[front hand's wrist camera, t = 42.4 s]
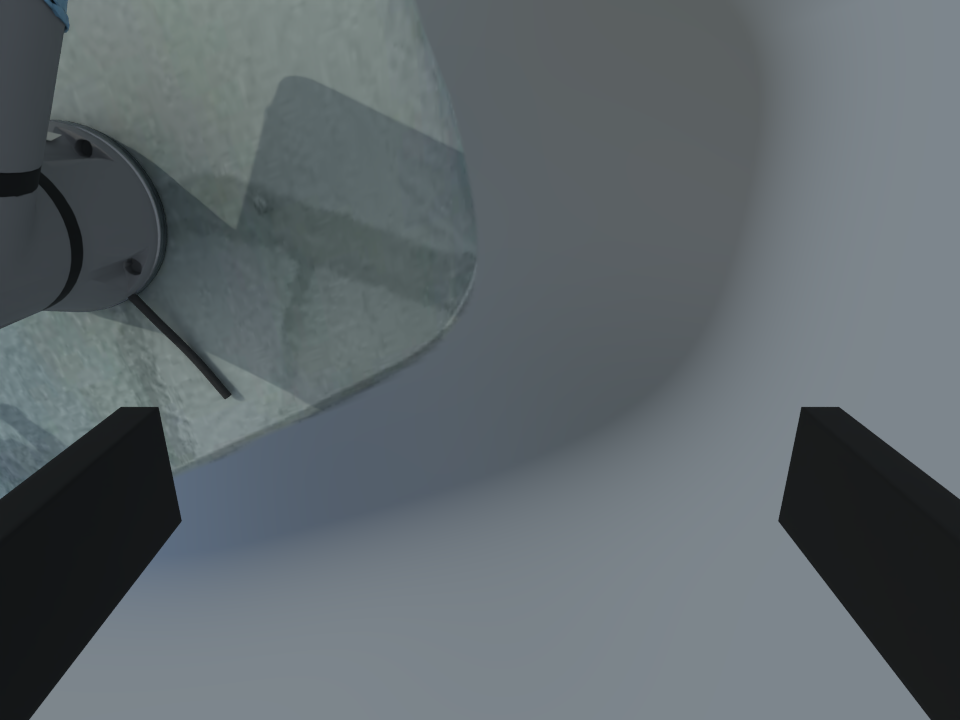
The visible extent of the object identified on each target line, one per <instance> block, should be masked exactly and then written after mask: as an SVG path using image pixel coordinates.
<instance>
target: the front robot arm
mask: <svg viewBox="0 0 960 720" xmlns="http://www.w3.org/2000/svg"><path fill="white" fill-rule="evenodd" d="M67 3H68V0H0V329H1V328H3V327H5V326H8V325H10V324H12V323H15V322H17V321H19V320H21V319H24V318H26V317H28V316H31V315H33V314H35V313H37V312H40V311H64V312H88V311H95V310H101V309H106V308H109V307H112V306H115V305H117V304H120V303H122V302H124V301H126V300H128V299H129V300H130V301H131V302H132V303H133V304H134V305H135V306H136V307H137V308H138V309H139V310H140V311H141V312H142V313H143V314H144V315H145V316H146V317H147V318H148V319H149V320H150V321H151V322H152V323H153V324H154V325H155V326H156V327H157V328H158V329H159V330H161V331H162V332H163V333H164V334H165V335H166V336H167V337H168V338H169V339H170V340H171V341H172V342H173V343H174V344H175V345H176V346H177V347H178V348H179V349H180V350H181V351H182V352H183V353H184V354H185V355H186V356H187V357H188V358H189V359H190V360H191V361H192V362H193V363H194V364H195V366H196V367H197V368H198V369H199V370H200V371H201V372H202V373H203V374H204V376H205V377H206V378H207V379H208V380H209V381H210V383H211V384H212V385H213V386H214V387H215V388H216V390H217V391H218V392H219V393H220V394H221V395H222V397H223V398H224V399H226V398H228V397H229V396H230V395H231V393H230V392H229V391H228V390H227V389H226V388H225V386H224V385H223V384H222V383H221V382H220V381H219V379H218V378H217V377H216V376H215V375H214V373H213V372H212V371H211V370H210V369H209V368H208V367H207V365H206V364H205V363H204V362H203V361H202V360H201V359H200V358H199V357H198V355H197V354H196V353H195V352H194V351H193V350H192V349H191V348H190V347H189V346H188V345H187V344H186V343H185V342H184V341H183V340H182V339H181V338H180V337H179V336H178V335H177V334H176V333H175V332H174V331H173V330H172V329H171V328H170V327H169V326H168V325H166V324H165V323H164V322H163V321H162V320H161V319H160V318H159V317H158V316H157V315H156V314H155V313H154V312H153V311H152V310H151V309H150V308H149V307H148V306H147V305H146V304H145V302H144V301H143V300H142V299H141V298H140V297H139V296H138V295H137V294H138V293H140V292H141V291H142V290H143V289H144V288H146V287H147V286H148V284H149V283H150V282H151V281H152V280H153V278H154V277H155V275H156V274H157V272H158V270H159V268H160V266H161V264H162V261H163V258H164V254H165V250H166V243H167V226H166V219H165V214H164V210H163V206H162V203H161V200H160V198H159V195H158V193H157V191H156V189H155V187H154V185H153V183H152V181H151V180H150V178H149V177H148V175H147V174H146V172H145V171H144V169H143V168H142V167H141V166H140V164H139V163H138V162H137V161H136V160H135V159H134V158H133V157H132V156H131V155H130V154H129V153H128V152H127V151H126V150H125V149H124V148H123V147H121V146H120V145H119V144H118V143H116V142H115V141H113V140H112V139H110V138H109V137H107V136H106V135H104V134H102V133H100V132H98V131H96V130H94V129H92V128H89V127H87V126H84V125H81V124H77V123H73V122H69V121H61V120H50V114H51V108H52V102H53V96H54V90H55V83H56V77H57V71H58V65H59V59H60V53H61V47H62V41H63V34H64V33H66V32H67V31H68V30H69V26H70V25H69V19H68V16H67V14H66V12H67ZM181 521H182V520H181V515H180V510H179V506H178V501H177V496H176V491H175V486H174V481H173V476H172V471H171V466H170V461H169V456H168V452H167V447H166V442H165V437H164V432H163V427H162V422H161V417H160V412H159V407H120V408H119V409H118V410H116V411H115V412H114V413H113V414H111V415H110V416H109V417H107V418H106V419H105V420H103V421H102V422H101V423H99V424H98V425H97V426H96V427H94V428H93V429H92V430H90V431H89V432H88V433H86V434H85V435H84V436H82V437H81V438H80V439H79V440H77V441H76V442H75V443H73V444H72V445H71V446H69V447H68V448H67V449H65V450H64V451H63V452H62V453H60V454H59V455H58V456H56V457H55V458H54V459H52V460H51V461H50V462H48V463H47V464H46V465H45V466H43V467H42V468H41V469H39V470H38V471H37V472H35V473H34V474H33V475H31V476H30V477H29V478H28V479H26V480H25V481H24V482H22V483H21V484H20V485H18V486H17V487H16V488H14V489H13V490H12V491H10V492H9V493H8V494H7V495H5V496H4V497H3V498H1V499H0V720H29V719H30V718H31V717H32V715H33V714H34V713H35V711H36V710H37V709H38V707H39V706H40V705H41V704H42V702H43V701H44V700H45V698H46V697H47V696H48V694H49V693H50V692H51V691H52V689H53V688H54V687H55V685H56V684H57V683H58V681H59V680H60V679H61V677H62V676H63V675H64V674H65V672H66V671H67V670H68V668H69V667H70V666H71V665H72V663H73V662H74V661H75V659H76V658H77V657H78V655H79V654H80V653H81V652H82V650H83V649H84V648H85V646H86V645H87V644H88V642H89V641H90V640H91V638H92V637H93V636H94V635H95V633H96V632H97V631H98V629H99V628H100V627H101V625H102V624H103V623H104V622H105V620H106V619H107V618H108V616H109V615H110V614H111V612H112V611H113V610H114V609H115V607H116V606H117V605H118V603H119V602H120V601H121V599H122V598H123V597H124V596H125V594H126V593H127V592H128V590H129V589H130V588H131V586H132V585H133V584H134V582H135V581H136V580H137V579H138V577H139V576H140V575H141V573H142V572H143V571H144V569H145V568H146V567H147V566H148V564H149V563H150V562H151V560H152V559H153V558H154V556H155V555H156V554H157V553H158V551H159V550H160V549H161V547H162V546H163V545H164V543H165V542H166V541H167V540H168V538H169V537H170V536H171V534H172V533H173V532H174V530H175V529H176V528H177V526H178V525H179V524H180V523H181ZM778 521H779V523H780V524H781V525H782V526H783V528H784V529H785V530H786V532H787V533H788V534H789V536H790V537H791V538H792V539H793V541H794V542H795V543H796V545H797V546H798V547H799V549H800V550H801V551H802V553H803V554H804V555H805V556H806V558H807V559H808V560H809V562H810V563H811V564H812V566H813V567H814V568H815V569H816V571H817V572H818V573H819V575H820V576H821V577H822V579H823V580H824V581H825V582H826V584H827V585H828V586H829V588H830V589H831V590H832V592H833V593H834V594H835V596H836V597H837V598H838V599H839V601H840V602H841V603H842V604H843V606H844V607H845V609H846V610H847V611H848V612H849V614H850V615H851V616H852V618H853V619H854V620H855V622H856V623H857V624H858V625H859V627H860V628H861V629H862V631H863V632H864V633H865V635H866V636H867V637H868V638H869V640H870V641H871V642H872V644H873V645H874V646H875V648H876V649H877V650H878V652H879V653H880V654H881V655H882V657H883V658H884V659H885V661H886V662H887V663H888V665H889V666H890V667H891V668H892V670H893V671H894V672H895V674H896V675H897V676H898V678H899V679H900V680H901V681H902V683H903V684H904V685H905V687H906V688H907V689H908V691H909V692H910V693H911V694H912V696H913V697H914V698H915V700H916V701H917V702H918V704H919V705H920V706H921V708H922V709H923V710H924V711H925V713H926V714H927V715H928V717H929V718H930V719H931V720H960V499H959V498H957V497H956V496H955V495H953V494H952V493H951V492H949V491H948V490H947V489H946V488H944V487H943V486H942V485H940V484H939V483H938V482H936V481H935V480H934V479H932V478H931V477H930V476H929V475H927V474H926V473H925V472H923V471H922V470H921V469H919V468H918V467H917V466H915V465H914V464H913V463H912V462H910V461H909V460H908V459H906V458H905V457H904V456H902V455H901V454H900V453H898V452H897V451H896V450H895V449H893V448H892V447H891V446H889V445H888V444H887V443H885V442H884V441H883V440H881V439H880V438H879V437H878V436H876V435H875V434H874V433H872V432H871V431H870V430H868V429H867V428H866V427H864V426H863V425H862V424H861V423H859V422H858V421H857V420H855V419H854V418H853V417H851V416H850V415H849V414H847V413H846V412H845V411H844V410H842V409H841V408H840V407H801V412H800V417H799V422H798V427H797V432H796V437H795V442H794V447H793V451H792V457H791V462H790V466H789V471H788V476H787V481H786V486H785V491H784V496H783V501H782V506H781V510H780V515H779V520H778Z"/></svg>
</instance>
